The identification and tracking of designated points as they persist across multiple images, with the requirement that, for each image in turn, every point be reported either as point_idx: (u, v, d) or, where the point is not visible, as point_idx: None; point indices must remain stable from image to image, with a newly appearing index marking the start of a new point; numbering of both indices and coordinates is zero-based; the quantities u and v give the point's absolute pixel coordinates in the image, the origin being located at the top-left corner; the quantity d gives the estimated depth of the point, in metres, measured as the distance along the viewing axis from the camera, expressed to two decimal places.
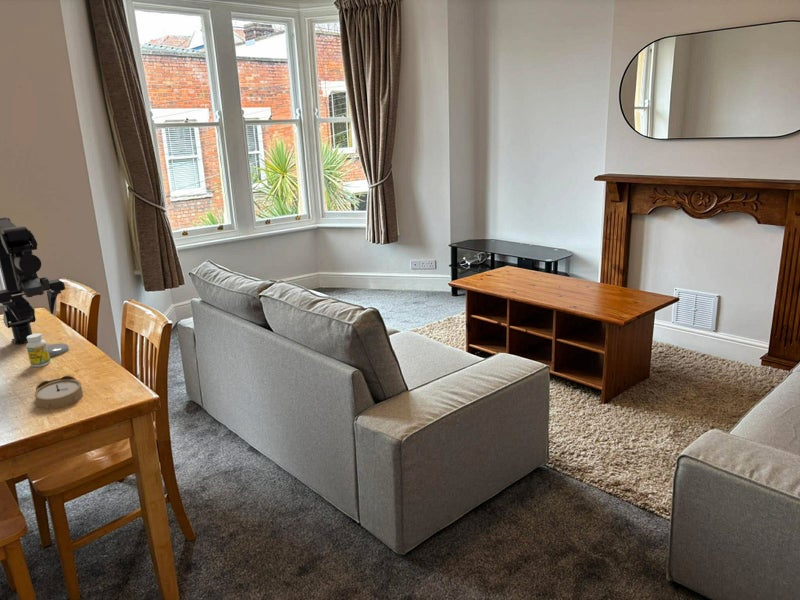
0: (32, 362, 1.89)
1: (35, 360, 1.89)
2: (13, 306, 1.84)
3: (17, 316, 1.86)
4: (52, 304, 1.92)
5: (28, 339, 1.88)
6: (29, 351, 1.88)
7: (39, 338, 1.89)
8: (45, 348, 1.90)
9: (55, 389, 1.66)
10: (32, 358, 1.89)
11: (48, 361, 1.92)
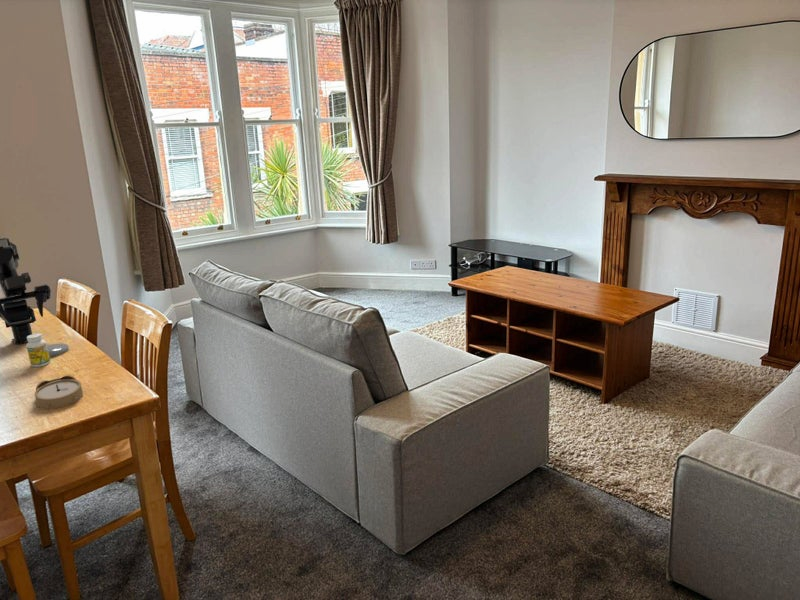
0: (32, 362, 1.89)
1: (35, 360, 1.89)
2: (1, 308, 1.90)
3: (6, 318, 1.89)
4: (40, 306, 1.96)
5: (28, 339, 1.88)
6: (29, 351, 1.88)
7: (39, 338, 1.89)
8: (45, 348, 1.90)
9: (55, 389, 1.66)
10: (32, 358, 1.89)
11: (48, 361, 1.92)
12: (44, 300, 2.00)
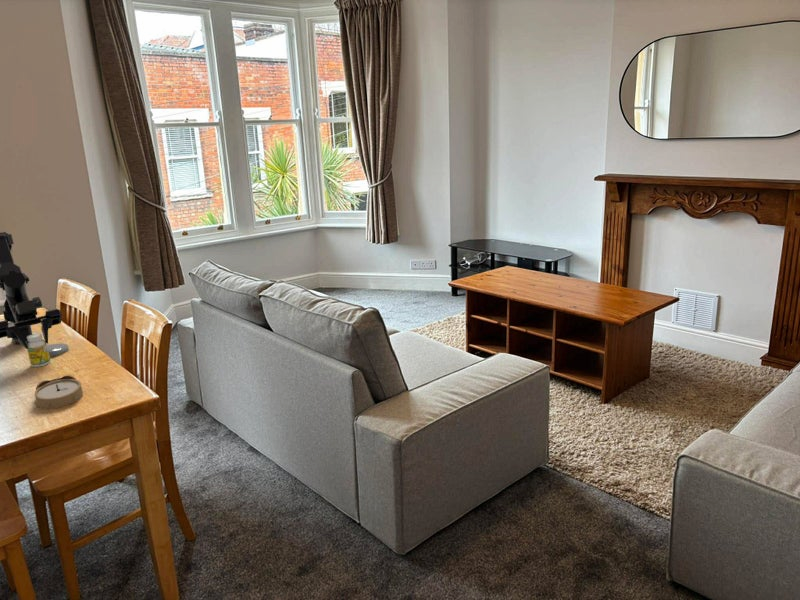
0: (32, 362, 1.89)
1: (35, 360, 1.89)
2: (18, 332, 1.87)
3: (24, 342, 1.87)
4: (45, 332, 1.91)
5: (28, 339, 1.88)
6: (29, 351, 1.88)
7: (39, 338, 1.89)
8: (45, 348, 1.90)
9: (55, 389, 1.66)
10: (32, 358, 1.89)
11: (48, 361, 1.92)
12: (49, 326, 1.96)
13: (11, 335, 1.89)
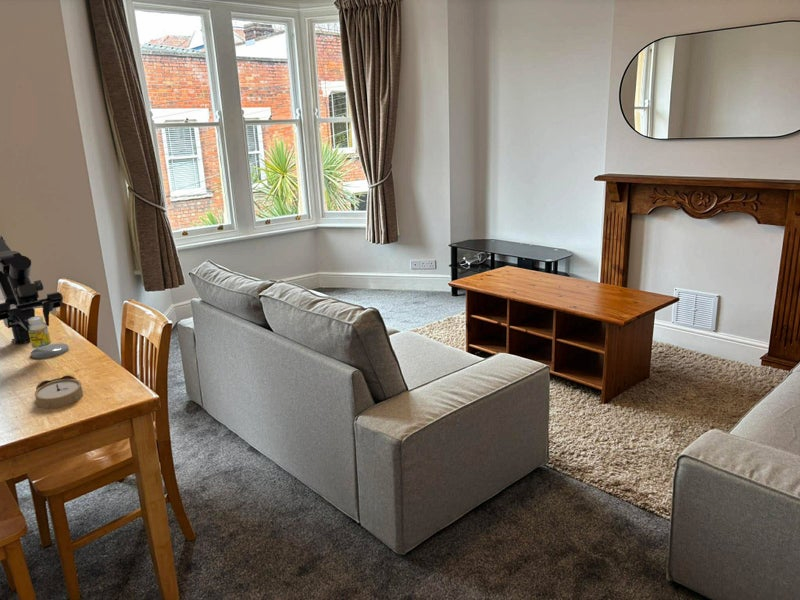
0: (33, 344, 1.93)
1: (36, 342, 1.92)
2: (19, 314, 1.90)
3: (25, 324, 1.90)
4: (46, 315, 1.95)
5: (29, 321, 1.91)
6: (30, 333, 1.92)
7: (40, 321, 1.92)
8: (46, 331, 1.94)
9: (55, 389, 1.66)
10: (33, 340, 1.92)
11: (49, 343, 1.95)
12: (50, 309, 1.99)
13: (13, 317, 1.92)
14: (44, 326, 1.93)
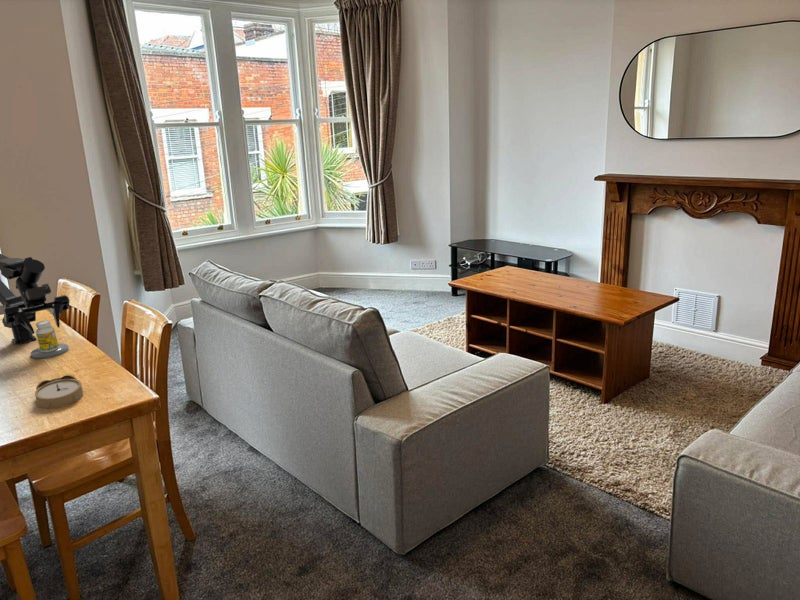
0: (41, 348, 1.98)
1: (45, 346, 1.98)
2: (25, 317, 1.95)
3: (30, 327, 1.95)
4: (57, 316, 2.01)
5: (37, 326, 1.97)
6: (38, 337, 1.97)
7: (48, 325, 1.98)
8: (54, 334, 1.99)
9: (55, 389, 1.66)
10: (41, 344, 1.98)
11: (56, 347, 2.01)
12: (60, 311, 2.05)
13: (18, 321, 1.97)
14: (52, 330, 1.99)
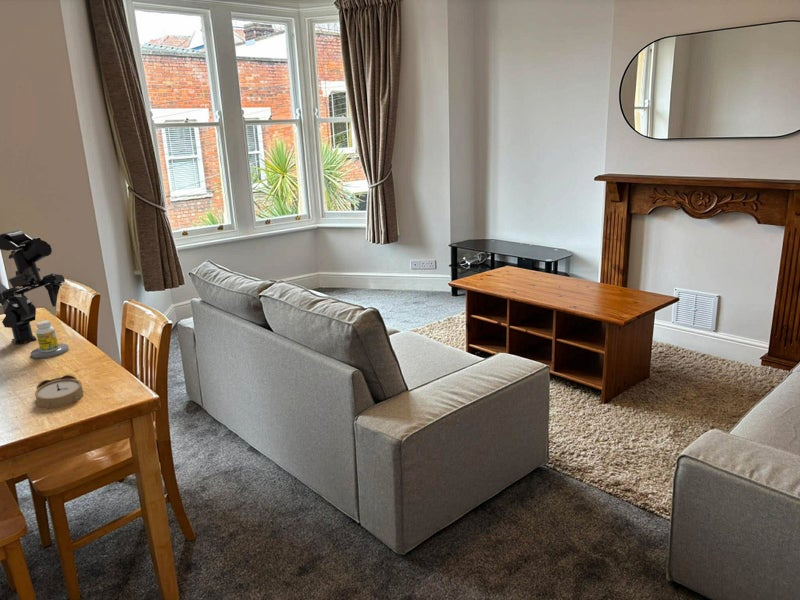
0: (41, 348, 1.98)
1: (45, 346, 1.98)
2: (18, 301, 2.01)
3: (24, 310, 2.02)
4: (50, 296, 2.01)
5: (38, 325, 1.97)
6: (39, 337, 1.97)
7: (48, 325, 1.98)
8: (54, 334, 1.99)
9: (56, 388, 1.66)
10: (41, 344, 1.98)
11: (57, 347, 2.01)
12: (58, 285, 2.04)
13: None
14: (52, 330, 1.99)
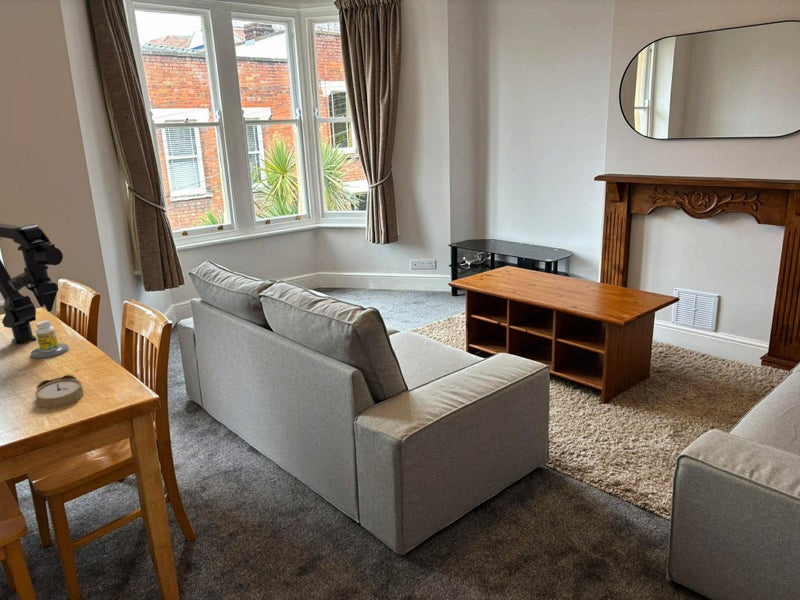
0: (41, 348, 1.98)
1: (45, 346, 1.98)
2: None
3: None
4: (44, 303, 1.99)
5: (38, 326, 1.97)
6: (39, 337, 1.97)
7: (48, 325, 1.98)
8: (54, 334, 1.99)
9: (56, 388, 1.66)
10: (41, 344, 1.98)
11: (57, 347, 2.01)
12: None
13: None
14: (52, 330, 1.99)
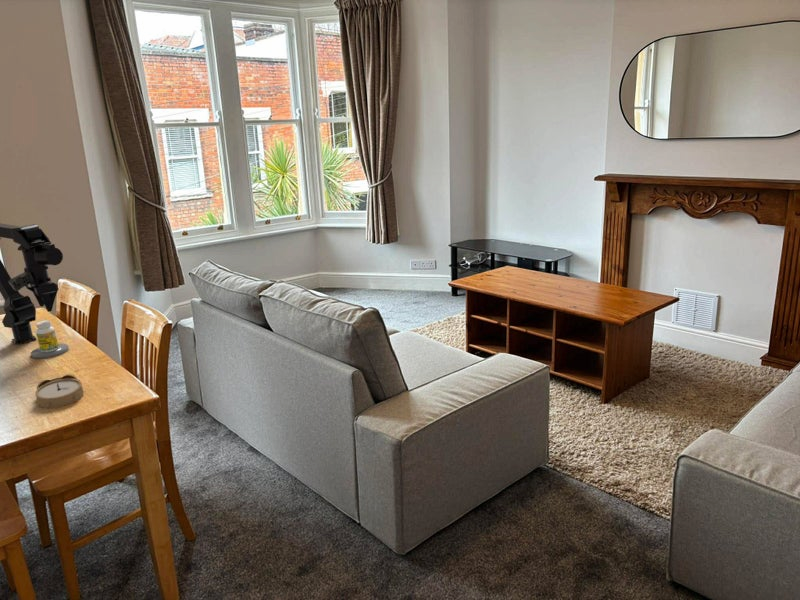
0: (41, 348, 1.98)
1: (45, 346, 1.98)
2: None
3: None
4: (44, 303, 1.99)
5: (38, 326, 1.97)
6: (39, 337, 1.97)
7: (48, 325, 1.98)
8: (54, 334, 1.99)
9: (56, 388, 1.66)
10: (41, 344, 1.98)
11: (57, 347, 2.01)
12: None
13: None
14: (52, 330, 1.99)
